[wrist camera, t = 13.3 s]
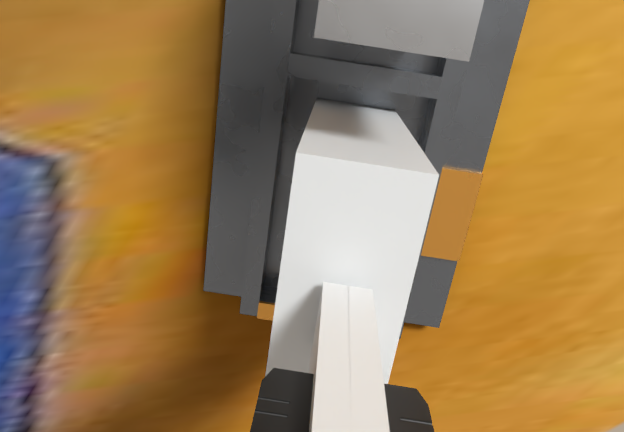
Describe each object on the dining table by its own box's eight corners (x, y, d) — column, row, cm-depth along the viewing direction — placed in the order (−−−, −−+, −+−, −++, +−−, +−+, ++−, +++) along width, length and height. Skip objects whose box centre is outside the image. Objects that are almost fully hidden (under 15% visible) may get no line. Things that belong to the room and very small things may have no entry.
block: (290, 274, 28) (257, 432, 17) (316, 98, 25) (296, 152, 14) (359, 284, 28) (371, 449, 17) (395, 110, 25) (438, 175, 14)
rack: (208, 281, 30) (116, 452, 18) (254, -286, 21) (125, -752, 8) (435, 316, 30) (499, 513, 18) (584, -235, 21) (943, -627, 8)
